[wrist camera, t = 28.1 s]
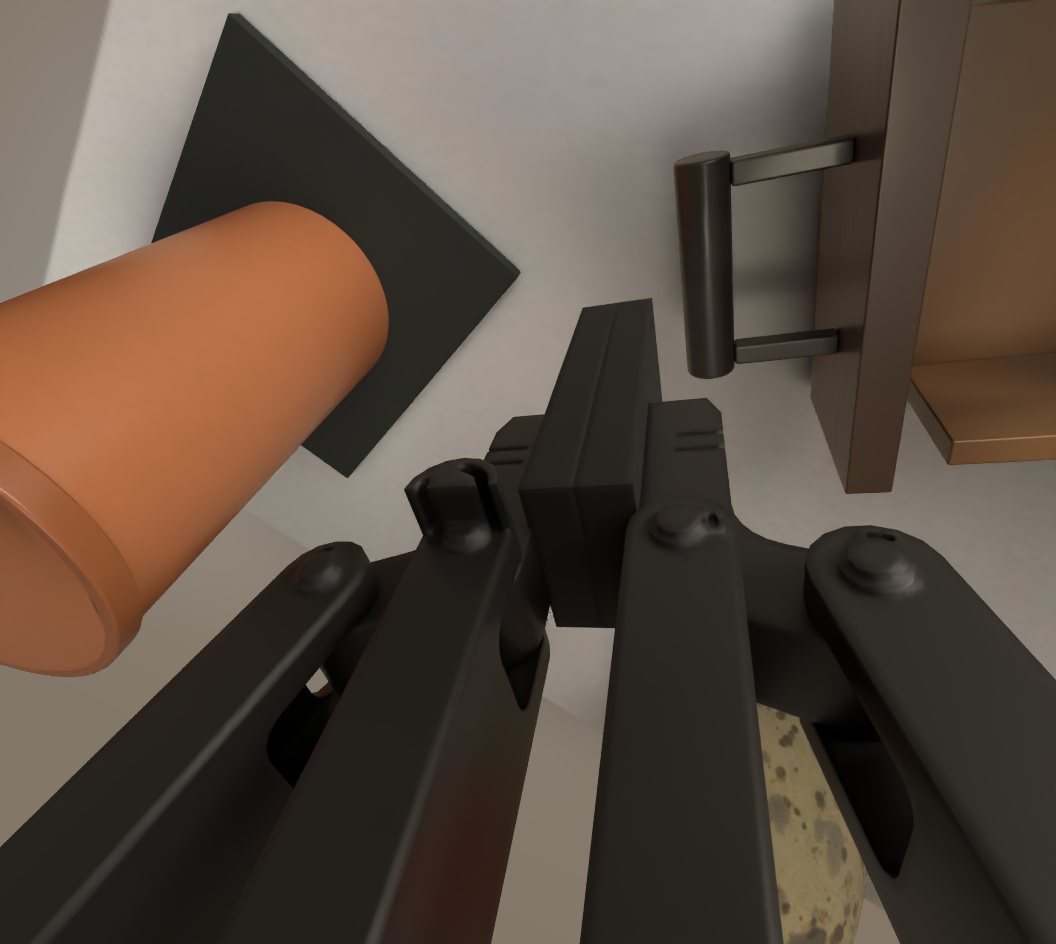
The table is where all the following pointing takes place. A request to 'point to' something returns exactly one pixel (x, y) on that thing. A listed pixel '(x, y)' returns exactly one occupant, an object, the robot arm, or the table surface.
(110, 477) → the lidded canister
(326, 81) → the table surface
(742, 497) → the table surface
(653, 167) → the table surface
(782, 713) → the decorative egg
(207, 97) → the mat
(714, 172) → the drawer
